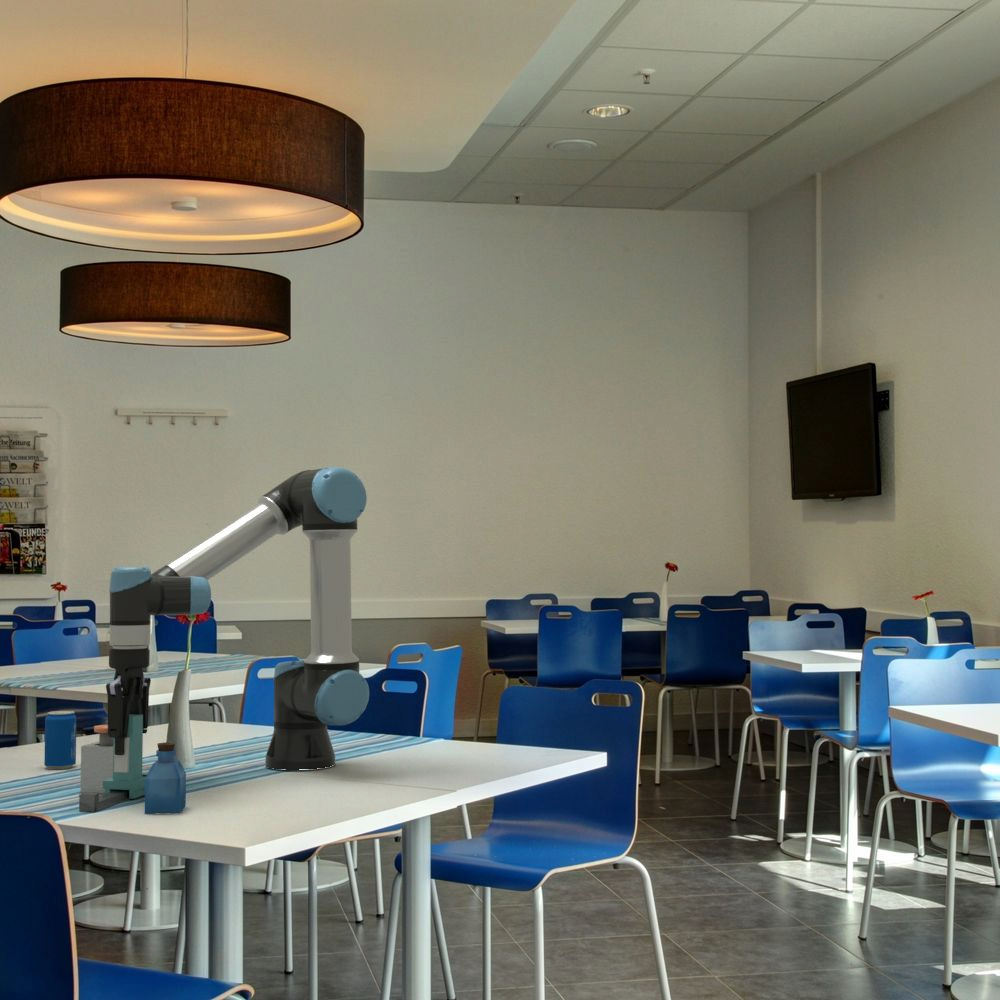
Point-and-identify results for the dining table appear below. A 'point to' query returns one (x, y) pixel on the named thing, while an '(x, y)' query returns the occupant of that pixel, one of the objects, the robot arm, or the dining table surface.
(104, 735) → the orange push button
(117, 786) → the carriage
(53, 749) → the beverage can
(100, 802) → the rail
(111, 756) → the button housing
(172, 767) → the perfume bottle
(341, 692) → the robot arm
